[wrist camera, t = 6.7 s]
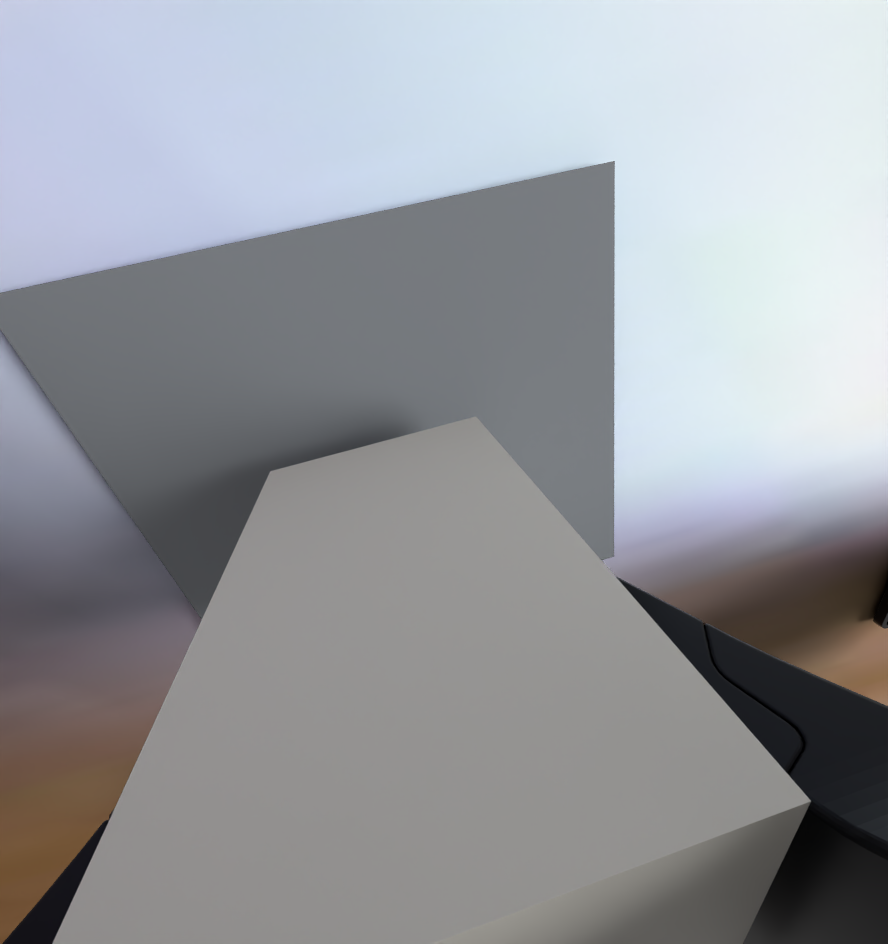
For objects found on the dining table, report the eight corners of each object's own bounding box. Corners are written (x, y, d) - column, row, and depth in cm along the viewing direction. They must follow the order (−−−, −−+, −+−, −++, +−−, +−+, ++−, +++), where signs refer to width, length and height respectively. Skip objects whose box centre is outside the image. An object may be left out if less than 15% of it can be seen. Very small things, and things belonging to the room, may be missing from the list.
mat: (605, 165, 10) (614, 161, 9) (607, 550, 15) (613, 556, 15) (-6, 297, 8) (-23, 297, 8) (240, 660, 14) (236, 670, 14)
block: (475, 416, 10) (809, 799, 2) (503, 570, 12) (716, 997, 5) (270, 471, 9) (-26, 1113, 2) (339, 620, 11) (311, 1165, 4)
